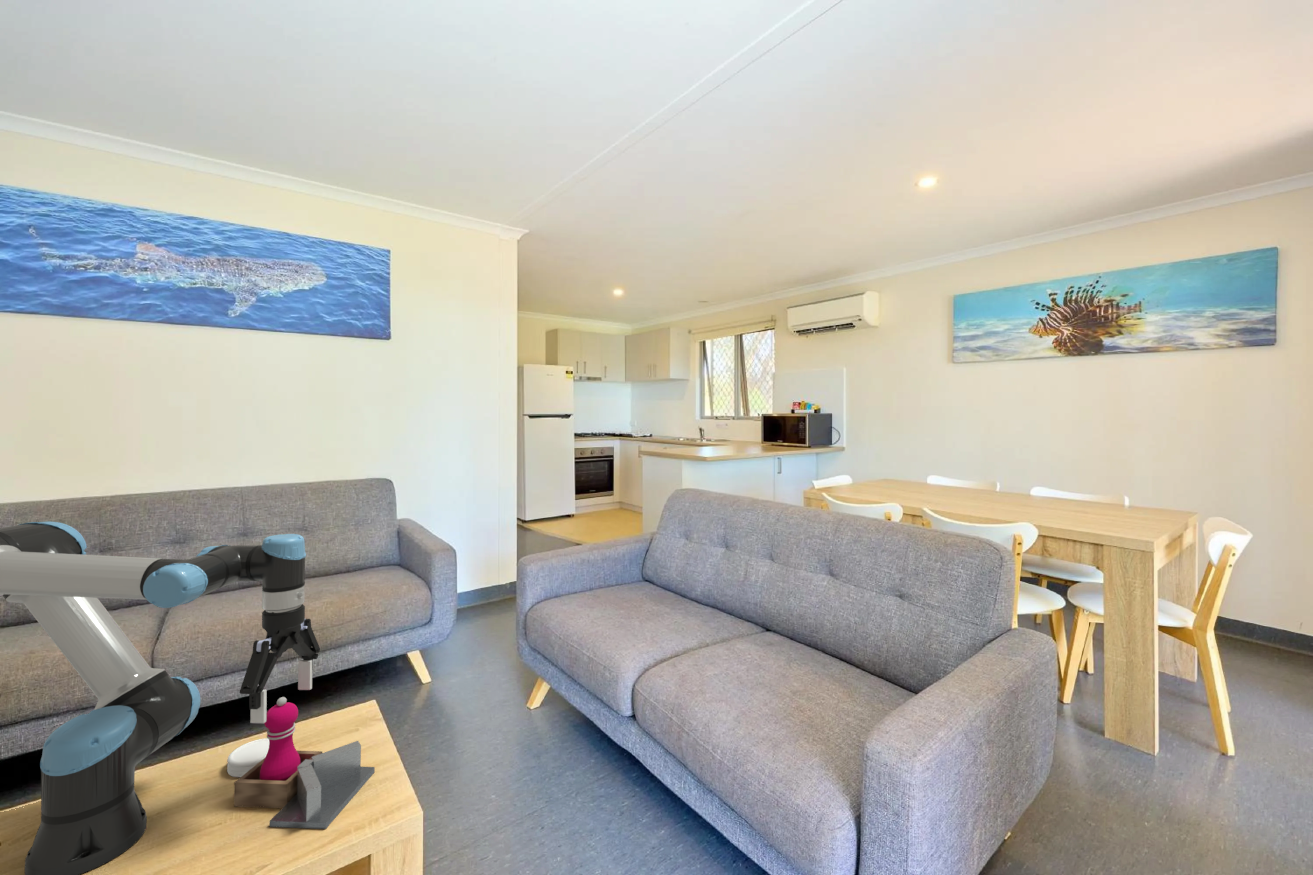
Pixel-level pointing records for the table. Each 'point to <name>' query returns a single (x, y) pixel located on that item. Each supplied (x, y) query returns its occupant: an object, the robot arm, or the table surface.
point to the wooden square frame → (267, 787)
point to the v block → (324, 788)
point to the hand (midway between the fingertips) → (283, 704)
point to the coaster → (247, 757)
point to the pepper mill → (280, 742)
